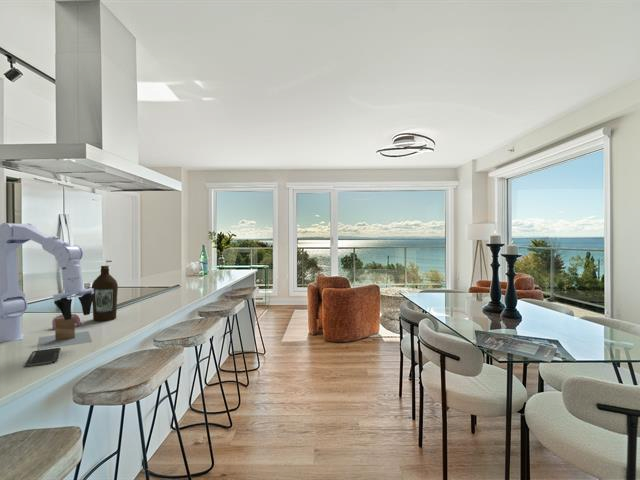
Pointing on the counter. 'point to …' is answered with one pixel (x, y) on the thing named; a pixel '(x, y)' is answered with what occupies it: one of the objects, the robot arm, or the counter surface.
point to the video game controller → (77, 319)
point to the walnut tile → (64, 328)
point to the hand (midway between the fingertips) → (77, 317)
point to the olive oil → (105, 296)
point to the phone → (43, 357)
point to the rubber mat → (50, 340)
